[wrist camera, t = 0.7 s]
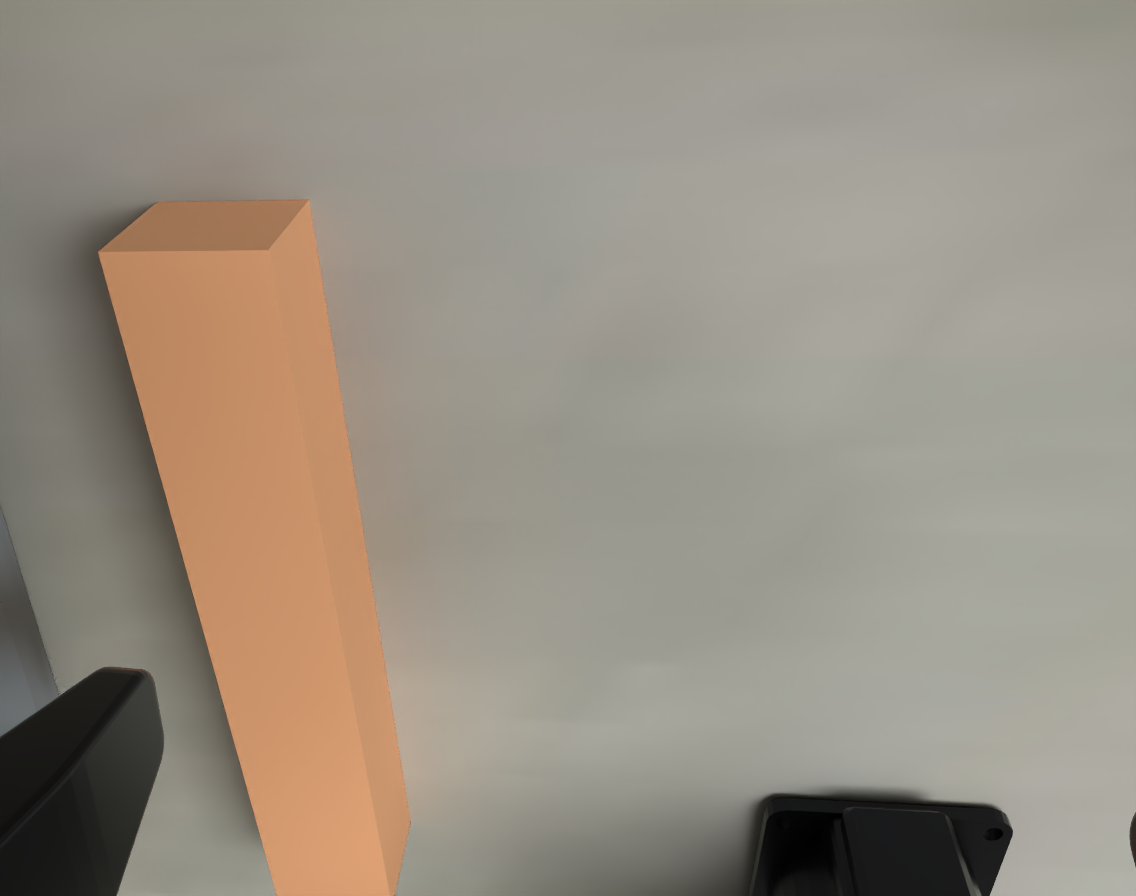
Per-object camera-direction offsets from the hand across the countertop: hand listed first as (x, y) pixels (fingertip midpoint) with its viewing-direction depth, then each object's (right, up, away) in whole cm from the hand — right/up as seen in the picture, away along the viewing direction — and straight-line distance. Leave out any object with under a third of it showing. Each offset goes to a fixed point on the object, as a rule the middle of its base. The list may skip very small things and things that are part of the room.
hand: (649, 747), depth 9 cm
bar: (-7, 0, +16) cm, 17 cm away
